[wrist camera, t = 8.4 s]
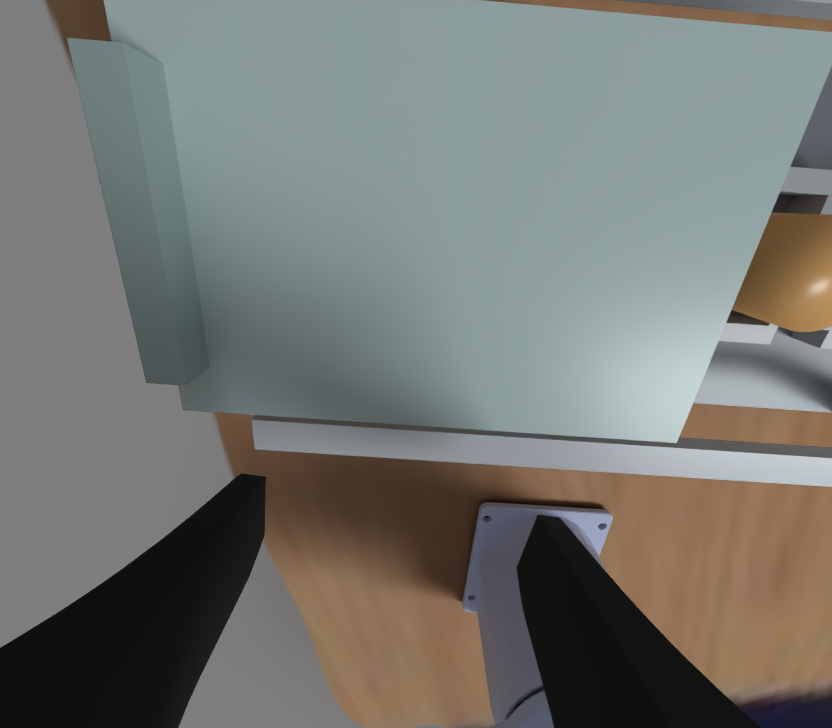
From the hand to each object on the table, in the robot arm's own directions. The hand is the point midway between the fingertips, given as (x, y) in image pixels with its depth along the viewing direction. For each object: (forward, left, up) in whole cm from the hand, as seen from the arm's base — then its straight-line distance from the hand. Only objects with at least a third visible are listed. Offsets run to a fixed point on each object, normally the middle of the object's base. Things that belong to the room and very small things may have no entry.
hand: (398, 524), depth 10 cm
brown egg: (+7, -12, -9) cm, 17 cm away
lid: (+7, -1, -3) cm, 7 cm away
